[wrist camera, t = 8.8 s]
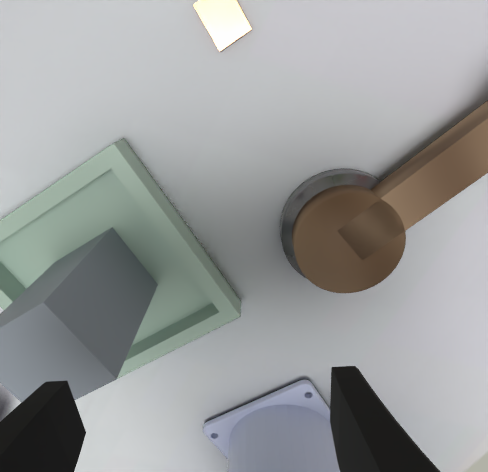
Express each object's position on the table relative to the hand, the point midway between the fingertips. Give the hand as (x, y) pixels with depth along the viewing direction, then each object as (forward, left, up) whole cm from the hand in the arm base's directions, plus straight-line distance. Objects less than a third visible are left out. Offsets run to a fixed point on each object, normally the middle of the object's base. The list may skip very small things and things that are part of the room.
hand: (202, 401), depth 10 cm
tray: (+2, +6, -10) cm, 12 cm away
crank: (-1, -10, -9) cm, 13 cm away
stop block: (+2, +6, -10) cm, 12 cm away
